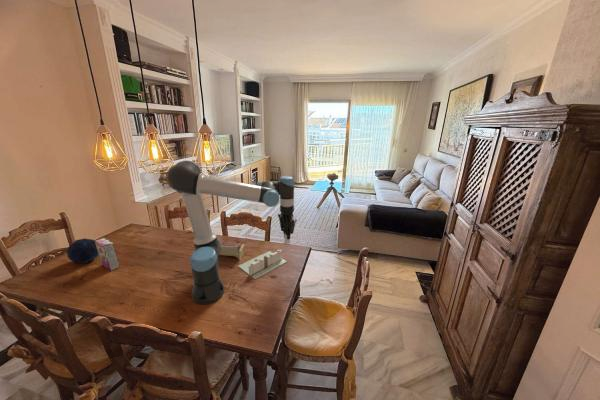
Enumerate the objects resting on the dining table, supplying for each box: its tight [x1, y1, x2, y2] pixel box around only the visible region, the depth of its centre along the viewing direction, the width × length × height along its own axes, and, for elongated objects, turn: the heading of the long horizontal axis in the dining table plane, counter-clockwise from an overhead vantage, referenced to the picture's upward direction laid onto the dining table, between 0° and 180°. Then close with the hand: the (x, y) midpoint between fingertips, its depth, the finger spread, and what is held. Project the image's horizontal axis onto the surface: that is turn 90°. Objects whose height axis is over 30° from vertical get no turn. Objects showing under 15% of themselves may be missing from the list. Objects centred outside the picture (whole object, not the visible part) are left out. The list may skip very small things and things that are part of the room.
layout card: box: [237, 250, 288, 280], centre depth 143 cm, size 24×17×1 cm
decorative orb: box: [66, 238, 99, 264], centre depth 142 cm, size 14×15×15 cm
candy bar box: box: [94, 237, 121, 272], centre depth 136 cm, size 11×5×16 cm, turn 59°
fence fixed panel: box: [249, 256, 267, 276], centre depth 135 cm, size 12×2×7 cm, turn 136°
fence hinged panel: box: [267, 249, 283, 266], centre depth 143 cm, size 11×1×7 cm, turn 136°
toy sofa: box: [219, 243, 245, 261], centre depth 150 cm, size 21×9×10 cm, turn 85°
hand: (287, 243), depth 135 cm, fingers closed
